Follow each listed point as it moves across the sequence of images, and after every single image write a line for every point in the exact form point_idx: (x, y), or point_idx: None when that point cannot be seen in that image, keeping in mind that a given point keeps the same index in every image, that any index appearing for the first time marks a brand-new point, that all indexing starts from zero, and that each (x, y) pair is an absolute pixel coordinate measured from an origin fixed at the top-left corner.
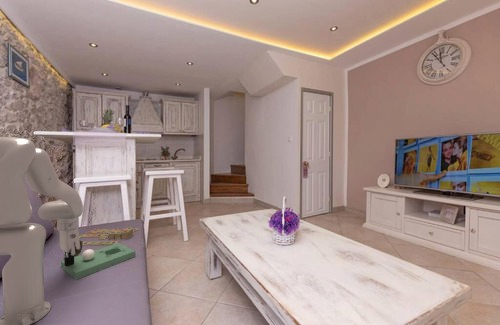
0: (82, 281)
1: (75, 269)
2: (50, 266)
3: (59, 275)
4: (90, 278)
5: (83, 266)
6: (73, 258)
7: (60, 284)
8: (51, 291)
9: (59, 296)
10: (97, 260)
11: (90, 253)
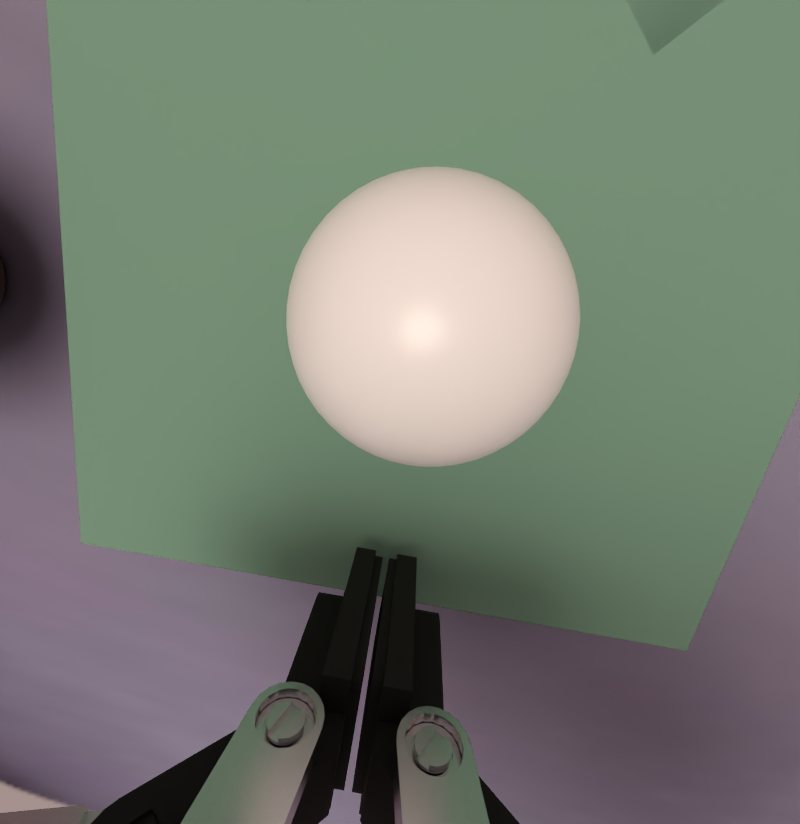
0: (747, 573)
1: (574, 600)
2: (19, 533)
3: None
4: (787, 502)
5: (601, 505)
6: (409, 640)
7: (563, 681)
8: (608, 760)
9: (767, 775)
10: (636, 256)
11: (573, 352)
